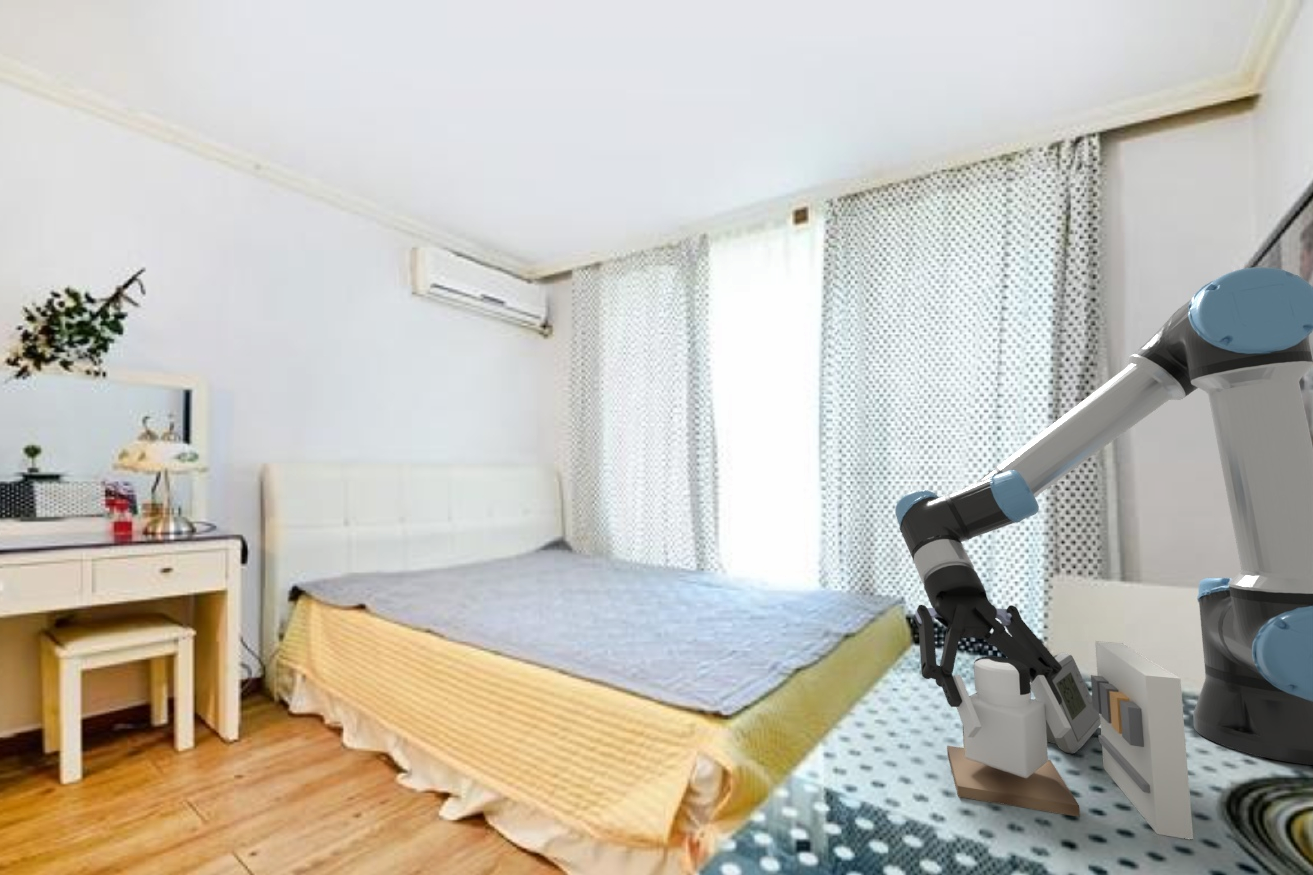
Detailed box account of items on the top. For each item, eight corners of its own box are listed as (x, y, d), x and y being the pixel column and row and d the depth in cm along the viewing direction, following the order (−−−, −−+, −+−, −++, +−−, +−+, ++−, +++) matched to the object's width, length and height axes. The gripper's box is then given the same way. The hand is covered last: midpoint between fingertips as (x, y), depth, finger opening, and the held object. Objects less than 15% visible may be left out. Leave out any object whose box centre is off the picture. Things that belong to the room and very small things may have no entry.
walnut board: (1050, 769, 76) (1050, 759, 76) (1080, 817, 65) (1079, 805, 65) (947, 754, 80) (947, 745, 80) (958, 796, 69) (957, 785, 69)
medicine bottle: (986, 743, 78) (982, 649, 79) (1049, 762, 72) (1043, 661, 73) (963, 758, 73) (958, 658, 74) (1027, 780, 68) (1021, 672, 69)
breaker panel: (1131, 772, 75) (1122, 643, 77) (1193, 840, 60) (1180, 678, 62) (1092, 766, 77) (1084, 640, 78) (1143, 831, 62) (1131, 674, 63)
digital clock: (1073, 760, 79) (1068, 678, 80) (1004, 736, 86) (1000, 661, 88) (1126, 735, 87) (1121, 660, 88) (1059, 715, 95) (1055, 647, 96)
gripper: (1015, 594, 90) (1099, 747, 72) (867, 593, 90) (915, 745, 73) (1035, 562, 85) (1129, 718, 68) (879, 561, 85) (933, 717, 68)
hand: (1018, 732), depth 70 cm, fingers closed on medicine bottle, 10 cm apart
